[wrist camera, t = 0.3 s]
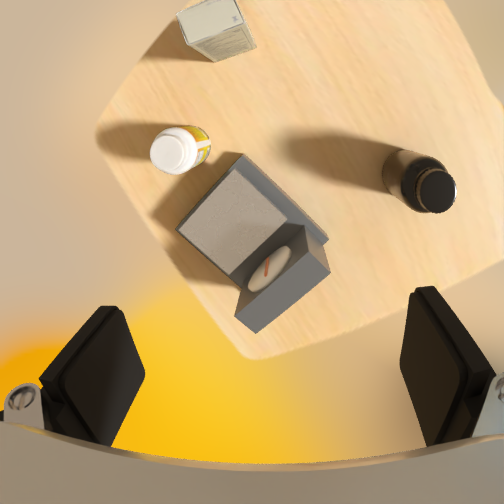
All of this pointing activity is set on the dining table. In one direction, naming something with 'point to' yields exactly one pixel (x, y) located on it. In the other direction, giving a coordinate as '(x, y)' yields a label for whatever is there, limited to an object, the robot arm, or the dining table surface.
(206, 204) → the scale pan
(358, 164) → the dining table surface
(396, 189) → the supplement bottle
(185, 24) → the skincare box
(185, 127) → the supplement bottle
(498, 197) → the dining table surface
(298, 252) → the scale base
